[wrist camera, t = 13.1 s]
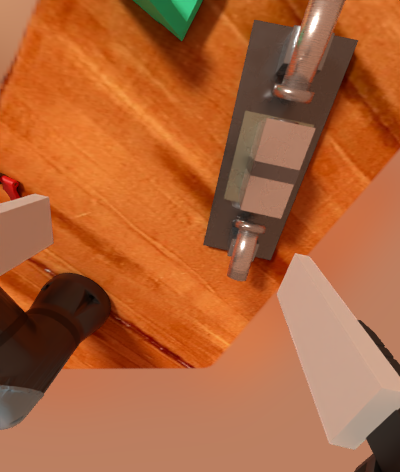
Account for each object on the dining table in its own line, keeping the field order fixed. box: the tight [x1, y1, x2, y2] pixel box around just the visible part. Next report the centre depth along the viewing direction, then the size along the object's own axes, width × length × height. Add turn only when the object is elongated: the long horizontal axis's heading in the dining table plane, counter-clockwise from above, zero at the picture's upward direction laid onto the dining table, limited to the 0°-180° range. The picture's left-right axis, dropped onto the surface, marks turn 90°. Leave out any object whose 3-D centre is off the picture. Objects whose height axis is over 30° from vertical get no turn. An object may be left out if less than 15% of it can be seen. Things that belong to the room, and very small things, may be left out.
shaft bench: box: [203, 0, 358, 281], centre depth 28 cm, size 32×12×9 cm, turn 169°
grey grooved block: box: [238, 118, 316, 219], centre depth 27 cm, size 11×5×7 cm, turn 169°
